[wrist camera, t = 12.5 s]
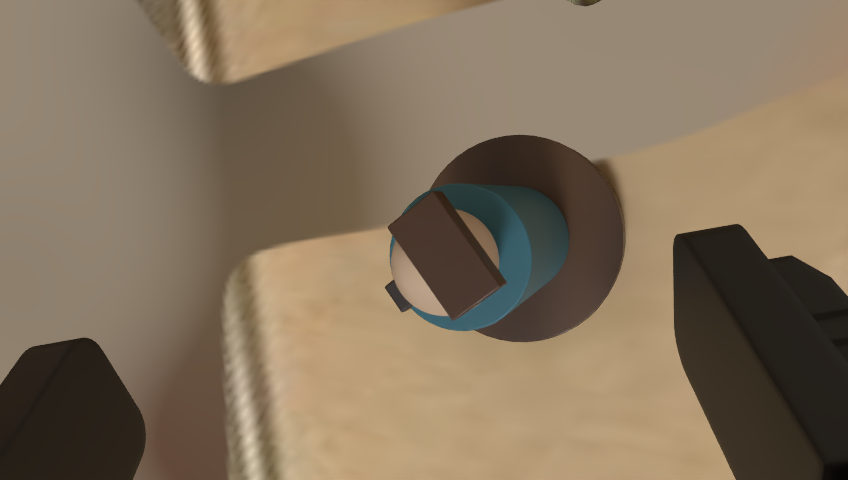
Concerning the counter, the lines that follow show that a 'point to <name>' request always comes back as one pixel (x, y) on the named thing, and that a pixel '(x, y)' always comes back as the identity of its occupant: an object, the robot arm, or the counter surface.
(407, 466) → the counter surface
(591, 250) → the stand
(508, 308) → the teal pump bottle
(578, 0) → the mottled olive oval disc
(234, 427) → the counter surface
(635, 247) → the counter surface
